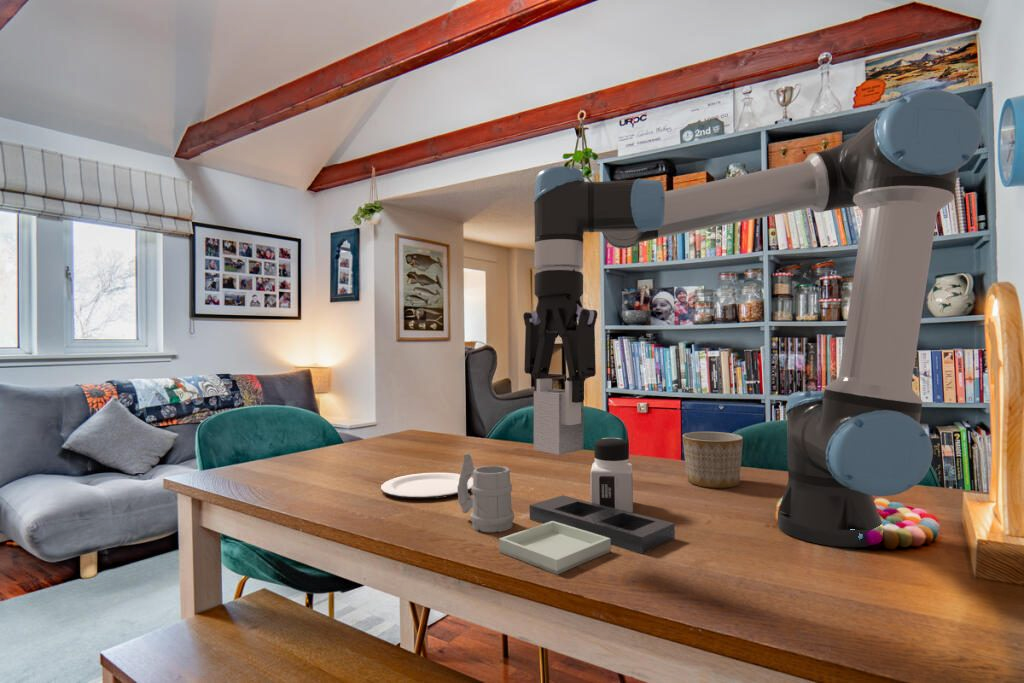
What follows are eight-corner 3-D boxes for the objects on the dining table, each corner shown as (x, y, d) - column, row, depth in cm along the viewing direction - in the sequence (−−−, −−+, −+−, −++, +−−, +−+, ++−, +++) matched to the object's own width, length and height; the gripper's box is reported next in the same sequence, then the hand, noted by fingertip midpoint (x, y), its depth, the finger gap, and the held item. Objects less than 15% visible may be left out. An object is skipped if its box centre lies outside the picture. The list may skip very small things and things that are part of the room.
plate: (494, 492, 121) (494, 484, 121) (404, 510, 110) (404, 501, 110) (448, 474, 139) (448, 468, 139) (366, 488, 127) (366, 480, 127)
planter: (748, 480, 127) (747, 433, 127) (737, 493, 117) (736, 442, 117) (691, 473, 134) (690, 430, 134) (676, 485, 123) (675, 438, 123)
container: (633, 513, 104) (631, 443, 104) (590, 511, 106) (589, 442, 106) (632, 501, 112) (631, 436, 112) (593, 500, 113) (592, 435, 113)
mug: (495, 536, 93) (494, 463, 93) (444, 523, 100) (443, 455, 100) (523, 524, 99) (522, 456, 99) (473, 512, 106) (472, 449, 106)
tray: (610, 551, 85) (610, 538, 85) (557, 574, 77) (556, 559, 77) (552, 532, 94) (552, 520, 94) (499, 551, 86) (498, 538, 86)
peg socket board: (674, 538, 90) (674, 523, 90) (642, 554, 84) (642, 537, 84) (563, 508, 108) (562, 495, 108) (529, 518, 102) (529, 505, 102)
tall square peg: (583, 450, 87) (583, 390, 87) (559, 454, 83) (559, 392, 83) (557, 445, 91) (557, 388, 91) (533, 449, 87) (533, 389, 87)
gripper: (622, 267, 82) (621, 426, 82) (534, 278, 96) (534, 413, 96) (588, 263, 77) (588, 431, 77) (501, 274, 91) (500, 417, 91)
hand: (558, 421), depth 87 cm, fingers closed on tall square peg, 5 cm apart
